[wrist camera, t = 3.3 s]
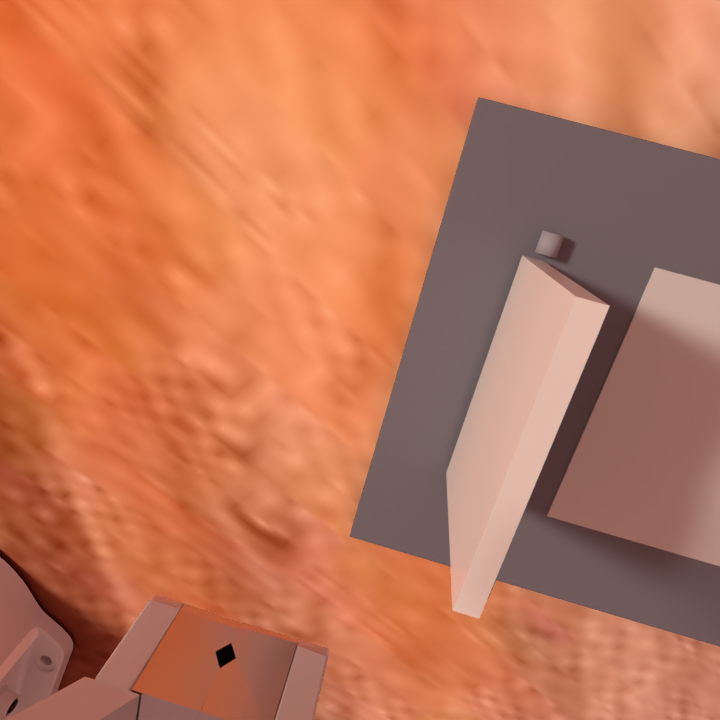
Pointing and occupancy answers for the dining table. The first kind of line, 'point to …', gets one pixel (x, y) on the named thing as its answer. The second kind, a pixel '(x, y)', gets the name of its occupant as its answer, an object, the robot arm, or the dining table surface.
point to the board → (599, 378)
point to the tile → (514, 421)
